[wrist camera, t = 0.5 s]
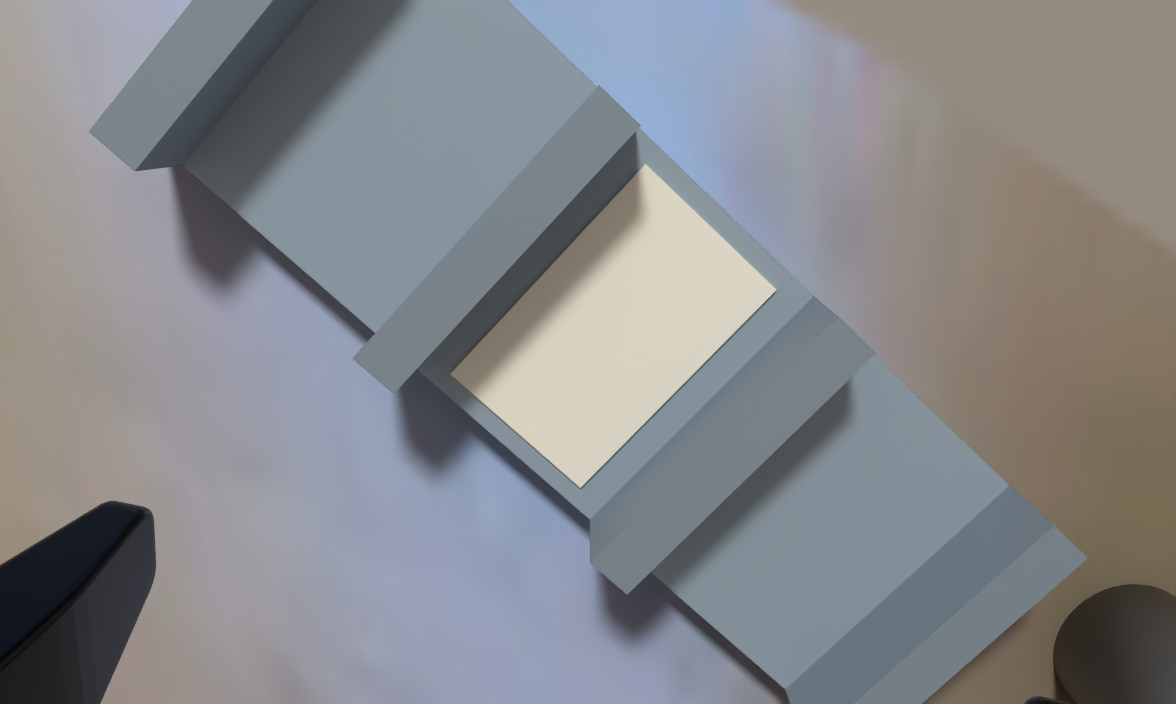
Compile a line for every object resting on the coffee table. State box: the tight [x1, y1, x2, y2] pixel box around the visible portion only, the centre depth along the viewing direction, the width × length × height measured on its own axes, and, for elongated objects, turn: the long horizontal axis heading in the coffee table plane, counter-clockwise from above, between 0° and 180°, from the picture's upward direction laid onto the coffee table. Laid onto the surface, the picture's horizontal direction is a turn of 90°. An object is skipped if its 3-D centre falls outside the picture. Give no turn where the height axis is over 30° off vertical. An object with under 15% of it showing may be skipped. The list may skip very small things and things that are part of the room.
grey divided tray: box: [89, 0, 1088, 704], centre depth 24 cm, size 8×23×4 cm, turn 47°
